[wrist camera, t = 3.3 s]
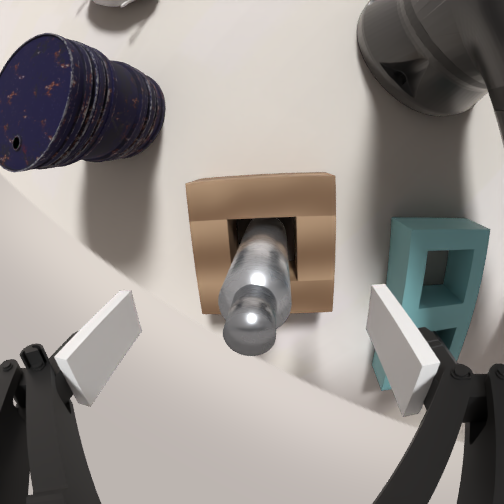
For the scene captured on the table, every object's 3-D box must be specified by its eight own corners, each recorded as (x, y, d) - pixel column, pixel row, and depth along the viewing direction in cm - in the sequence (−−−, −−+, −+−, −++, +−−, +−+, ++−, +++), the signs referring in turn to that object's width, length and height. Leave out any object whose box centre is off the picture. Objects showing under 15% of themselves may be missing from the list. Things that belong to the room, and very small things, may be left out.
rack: (391, 217, 27) (459, 262, 15) (465, 218, 26) (541, 256, 14) (371, 364, 33) (398, 442, 21) (436, 354, 32) (474, 420, 20)
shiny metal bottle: (244, 216, 28) (200, 297, 12) (285, 214, 28) (293, 295, 12) (247, 254, 30) (212, 366, 14) (286, 253, 29) (293, 367, 13)
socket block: (201, 178, 28) (185, 183, 23) (325, 172, 26) (335, 175, 22) (213, 290, 31) (202, 314, 27) (325, 287, 30) (332, 311, 25)
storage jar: (97, 74, 24) (1, 49, 10) (174, 70, 24) (91, 15, 10) (84, 157, 28) (-18, 173, 14) (159, 163, 27) (61, 177, 13)
